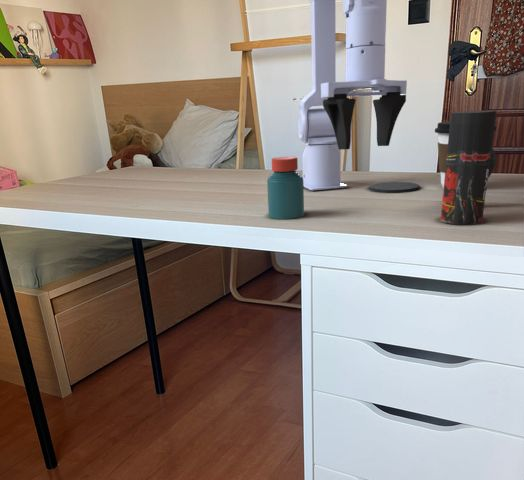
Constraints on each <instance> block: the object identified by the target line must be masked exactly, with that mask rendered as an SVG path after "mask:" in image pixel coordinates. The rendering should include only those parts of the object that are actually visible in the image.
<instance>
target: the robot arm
mask: <svg viewBox="0 0 524 480" xmlns="http://www.w3.org/2000/svg"><path fill="white" fill-rule="evenodd" d="M387 1H388V0H342V12H343V15H345V81H336V0H309V3H310V36H311V37H310V39H311V40H310V41H311V44H310V45H311V91H310V92H309V93H307V95H305V96H304V97H303V98H302V99H301V101H300V102H299V104H298V117H297V132H298V137H299V139H300V140H301V142H302V143H304V144H305V148H304V150H303V153H302V177H303V186H304V188H305V189H307V190H309V191H324V190H334V189H344V188H348V184H346V183H342V182H341V172H342V171H341V169H342V167H341V166H342V165H341V164H342V162H341V160H342V150H350V149H351V143H352V142H351V141H352V120H353V114H354V109H355V105H356V101H357V99H356V98H353V97H375V96H376V97H377V96H380V97H379V98H377V99H373V100H372V103H373V108H374V113H375V119H376V145H377V147H389V146H390V143H391V139H392V135H393V131H394V128H395V125H396V122H397V119H398V118H399V115H400V113H401V111H402V109H403V107H404V105H405V103H406V102H407V86H408V85H407V84H408V83H407V80H399V79H397V80H395V79H394V80H393V79H387V78H385V76H386V75H385V71H386V70H385V69H386V39H387V37H386V35H387V34H386V33H387V9H388V8H387V6H388V5H387ZM359 90H370V91H365V92H363V91H361V92H359ZM350 97H352V98H350ZM320 106H322V108H311V107H320Z"/></svg>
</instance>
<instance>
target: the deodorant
mask: <svg viewBox="0 0 524 480" xmlns="http://www.w3.org/2000/svg"><path fill="white" fill-rule="evenodd" d="M449 118H450V119H449V121H450V128H449V139H448V149H447V159H446V170H445V180H444V189H443V193H442V201H441V212H440V222H442V223H444V224H448V225H449V224H450V225H457V226H468V225H469V226H471V225H479V224H481V223H482V222H483V218H484V211H485V203H486V194H487V188H488V180H489V178H488V173H489V165H490V158H491V150H492V148H493V142H494V135H495V134H494V133H495V131H494V127H496V120H497V119H496V118H497V110H489V109H488V110H485V109H484V110H463V111H461V110H460V111H451V112H450V117H449Z"/></svg>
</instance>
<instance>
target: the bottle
mask: <svg viewBox="0 0 524 480" xmlns="http://www.w3.org/2000/svg"><path fill="white" fill-rule="evenodd" d="M266 188H267V209H268V211H267V212H268V217H269V218H271V219H275V220H293V219H298V218H301V217H303V216H305V195H304V194H305V193H304V188H305V187H304V186H303V174H301V173H299V171H297V170H294V171H285V172H276V171H273V172H272V173H271V174H270V175H269V176H268V177H267V179H266Z"/></svg>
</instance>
